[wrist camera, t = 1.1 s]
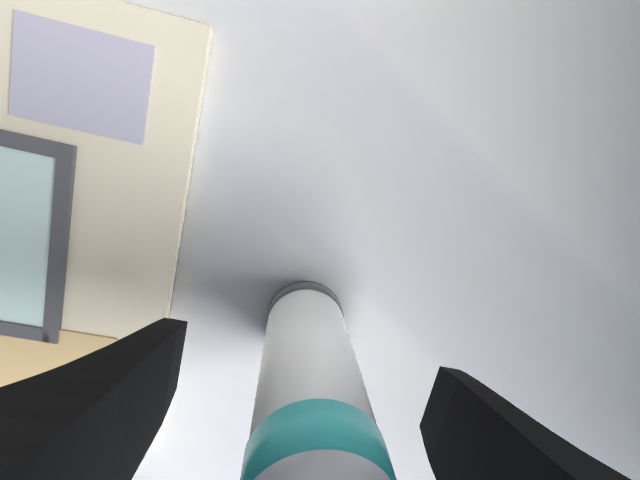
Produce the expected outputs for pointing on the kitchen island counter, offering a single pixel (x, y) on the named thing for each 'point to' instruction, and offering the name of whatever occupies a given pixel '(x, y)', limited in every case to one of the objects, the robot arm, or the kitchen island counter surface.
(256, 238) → the kitchen island counter surface
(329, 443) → the marker
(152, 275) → the sheet
